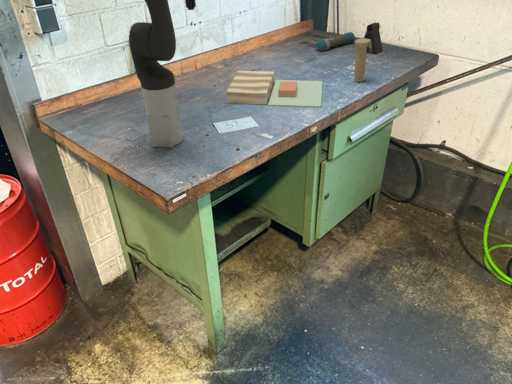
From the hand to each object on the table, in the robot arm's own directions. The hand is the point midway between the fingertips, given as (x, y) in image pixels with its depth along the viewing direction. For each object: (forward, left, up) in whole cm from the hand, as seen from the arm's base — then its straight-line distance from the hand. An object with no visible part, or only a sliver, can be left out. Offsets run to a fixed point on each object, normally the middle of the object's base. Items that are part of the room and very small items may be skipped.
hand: (191, 9), depth 134 cm
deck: (+10, -16, -31) cm, 36 cm away
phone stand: (+63, -62, -31) cm, 94 cm away
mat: (+10, -33, -31) cm, 46 cm away
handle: (+24, -55, -31) cm, 68 cm away
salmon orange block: (+10, -30, -28) cm, 42 cm away
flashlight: (+70, -47, -31) cm, 89 cm away
